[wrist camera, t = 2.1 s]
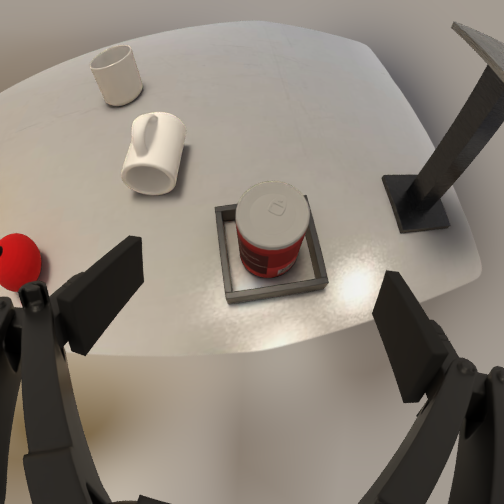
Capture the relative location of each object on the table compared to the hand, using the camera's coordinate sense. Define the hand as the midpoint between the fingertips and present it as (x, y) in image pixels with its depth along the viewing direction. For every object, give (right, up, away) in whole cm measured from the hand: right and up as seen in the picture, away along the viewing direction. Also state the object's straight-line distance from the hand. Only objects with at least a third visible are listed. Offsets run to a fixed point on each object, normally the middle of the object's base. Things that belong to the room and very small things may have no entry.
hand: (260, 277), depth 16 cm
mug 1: (-28, +36, +40) cm, 61 cm away
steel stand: (+26, +9, +28) cm, 40 cm away
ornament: (-37, -2, +25) cm, 44 cm away
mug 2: (-15, +15, +31) cm, 38 cm away
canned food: (+2, +1, +26) cm, 26 cm away
